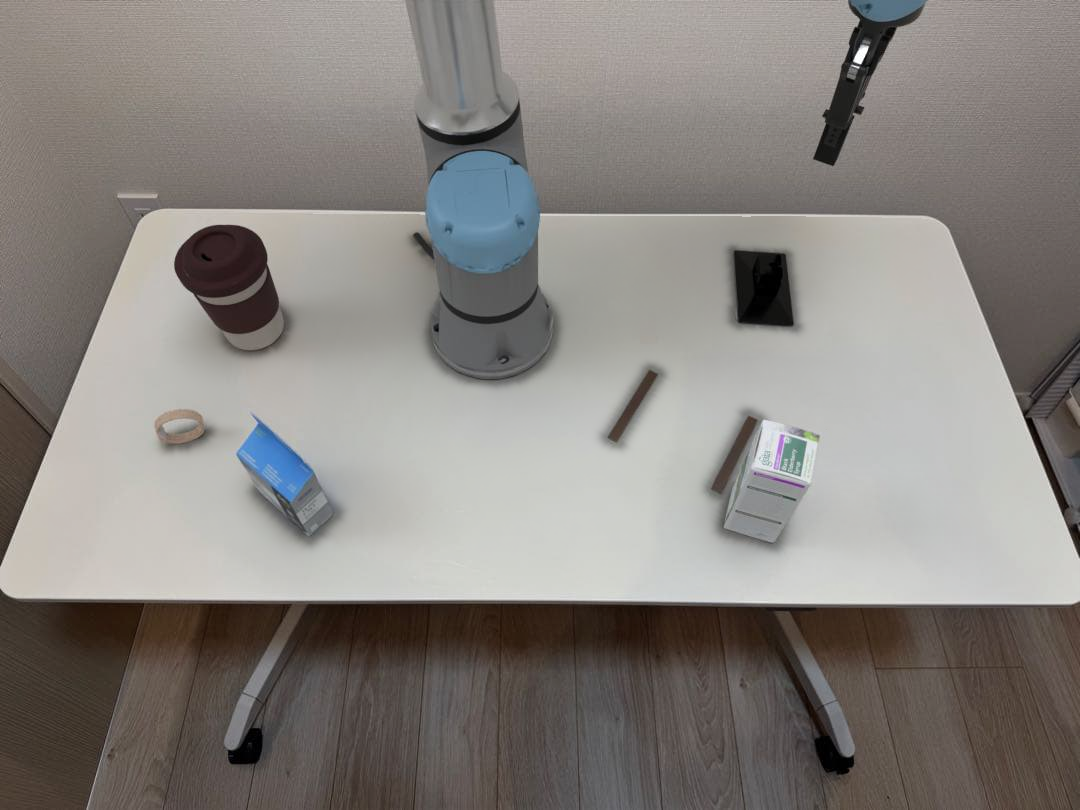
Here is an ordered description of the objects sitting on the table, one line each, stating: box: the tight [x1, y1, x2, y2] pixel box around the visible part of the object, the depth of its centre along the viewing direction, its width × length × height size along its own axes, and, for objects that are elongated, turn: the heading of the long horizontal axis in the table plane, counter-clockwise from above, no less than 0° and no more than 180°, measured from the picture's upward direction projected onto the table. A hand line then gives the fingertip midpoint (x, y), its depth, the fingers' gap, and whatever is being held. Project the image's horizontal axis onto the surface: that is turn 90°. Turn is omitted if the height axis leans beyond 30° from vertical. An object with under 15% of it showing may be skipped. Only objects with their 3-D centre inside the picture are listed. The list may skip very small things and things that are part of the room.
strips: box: [607, 369, 759, 495], centre depth 89 cm, size 14×11×1 cm
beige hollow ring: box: [154, 408, 205, 445], centre depth 87 cm, size 3×5×5 cm, turn 111°
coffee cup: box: [173, 224, 285, 351], centre depth 91 cm, size 10×10×15 cm
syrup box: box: [722, 419, 821, 544], centre depth 78 cm, size 6×6×14 cm
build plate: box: [733, 249, 795, 328], centre depth 99 cm, size 12×7×5 cm, turn 175°
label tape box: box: [235, 411, 335, 537], centre depth 79 cm, size 9×4×12 cm, turn 50°
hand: (825, 159), depth 97 cm, fingers closed
